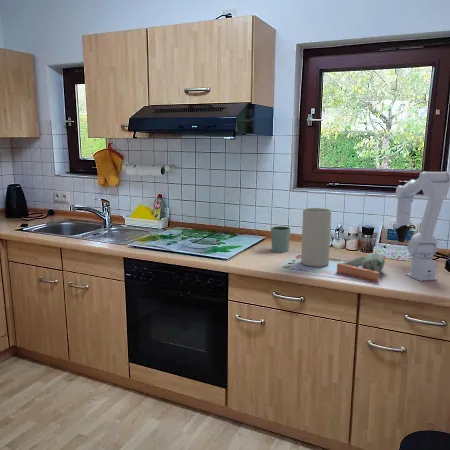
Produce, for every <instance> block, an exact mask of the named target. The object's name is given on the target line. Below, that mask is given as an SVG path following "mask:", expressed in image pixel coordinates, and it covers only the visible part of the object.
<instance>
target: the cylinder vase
mask: <svg viewBox="0 0 450 450" xmlns="http://www.w3.org/2000/svg"><path fill="white" fill-rule="evenodd" d="M331 224H332V210H331V209H330V208H323V207H321V208H320V207H308V208H303V209H302V228H301V229H302V230H301V231H302V232H301V234H302V235H301V255H300V256H301V257H300V261H301V264H303V265H304V266H308V267H314V268H319V267H326V266H328V265H329V264H330V246H331V228H332V226H331Z"/></svg>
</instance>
